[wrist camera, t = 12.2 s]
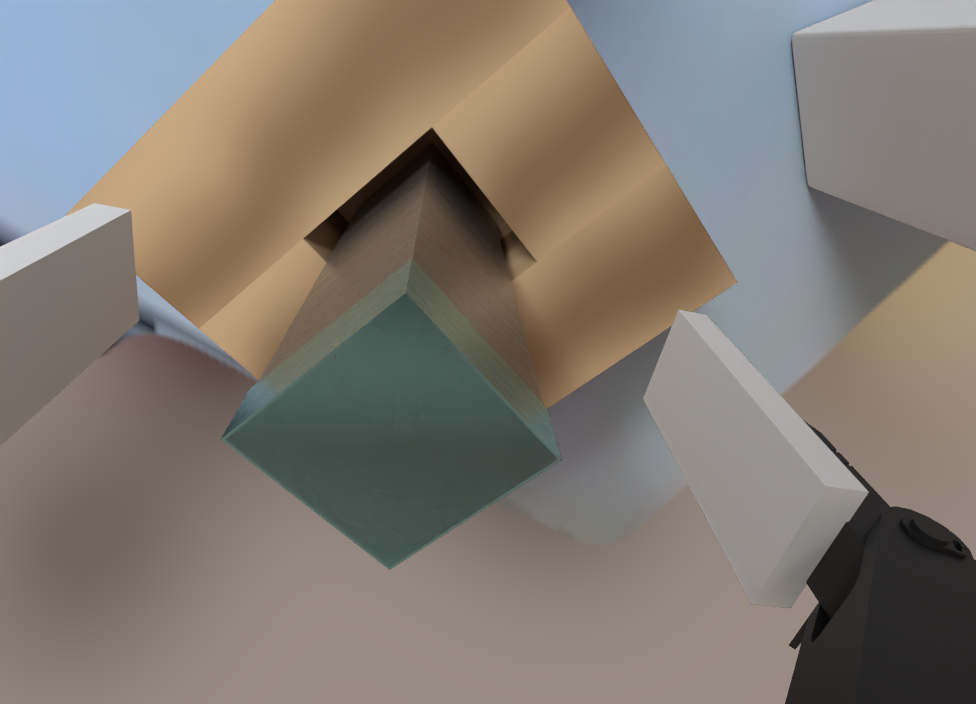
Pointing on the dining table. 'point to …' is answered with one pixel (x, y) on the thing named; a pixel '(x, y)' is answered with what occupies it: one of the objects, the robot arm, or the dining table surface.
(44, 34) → the dining table surface
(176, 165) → the socket block
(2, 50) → the dining table surface
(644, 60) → the dining table surface
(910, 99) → the milk carton
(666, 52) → the dining table surface
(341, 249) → the square bit
